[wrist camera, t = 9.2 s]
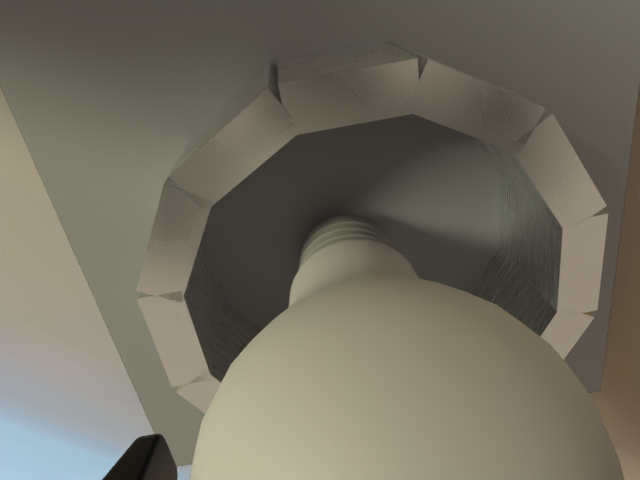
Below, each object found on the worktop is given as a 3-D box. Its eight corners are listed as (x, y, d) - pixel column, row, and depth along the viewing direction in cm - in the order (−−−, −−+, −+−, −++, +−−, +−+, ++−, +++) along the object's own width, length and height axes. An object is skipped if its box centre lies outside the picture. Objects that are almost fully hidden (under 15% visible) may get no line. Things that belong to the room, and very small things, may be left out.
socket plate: (-11, -16, 12) (-46, -16, 11) (626, -133, 12) (668, -147, 11) (177, 435, 20) (169, 467, 18) (578, 363, 20) (600, 390, 18)
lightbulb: (276, 107, 13) (252, 494, 3) (482, 182, 14) (928, 623, 4) (212, 297, 15) (83, 853, 5) (392, 346, 17) (550, 866, 7)
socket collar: (119, 88, 12) (66, 122, 9) (540, 11, 12) (630, 19, 9) (224, 399, 17) (213, 491, 14) (528, 345, 17) (584, 425, 14)
